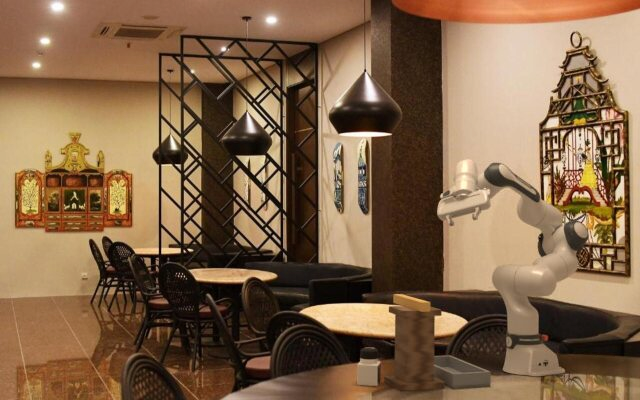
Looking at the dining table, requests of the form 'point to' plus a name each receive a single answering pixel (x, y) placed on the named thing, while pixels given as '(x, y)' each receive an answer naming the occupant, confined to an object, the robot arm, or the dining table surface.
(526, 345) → the robot arm
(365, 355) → the medicine bottle
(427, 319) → the stand
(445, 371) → the tray
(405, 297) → the rod
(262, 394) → the dining table surface
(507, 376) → the dining table surface
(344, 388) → the dining table surface
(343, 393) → the dining table surface
